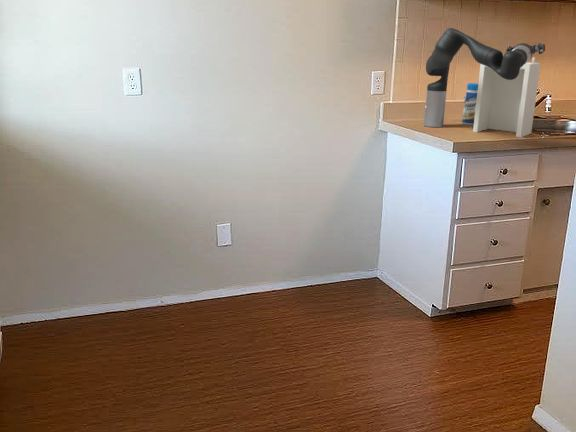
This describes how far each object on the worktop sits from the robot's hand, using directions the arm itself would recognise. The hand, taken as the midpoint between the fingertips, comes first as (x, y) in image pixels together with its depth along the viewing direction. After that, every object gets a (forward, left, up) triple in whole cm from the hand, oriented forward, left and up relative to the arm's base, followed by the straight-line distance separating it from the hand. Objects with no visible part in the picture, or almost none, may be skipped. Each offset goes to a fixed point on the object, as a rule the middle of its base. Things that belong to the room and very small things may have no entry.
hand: (529, 46), depth 258 cm
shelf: (-6, +22, -40) cm, 46 cm away
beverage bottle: (-21, +44, -40) cm, 63 cm away
